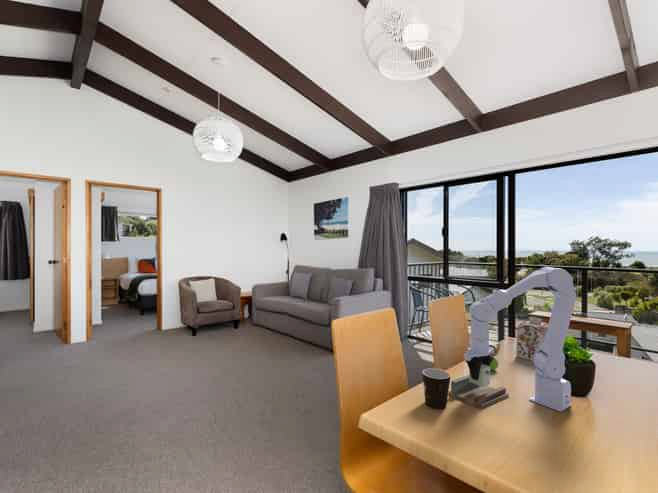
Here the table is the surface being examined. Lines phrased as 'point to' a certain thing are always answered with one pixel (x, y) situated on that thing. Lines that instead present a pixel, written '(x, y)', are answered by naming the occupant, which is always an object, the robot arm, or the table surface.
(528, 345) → the decorative jar
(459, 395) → the cleat board
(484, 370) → the cabinet block
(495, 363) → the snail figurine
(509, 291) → the robot arm
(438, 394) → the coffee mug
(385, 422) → the table surface
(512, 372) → the table surface
